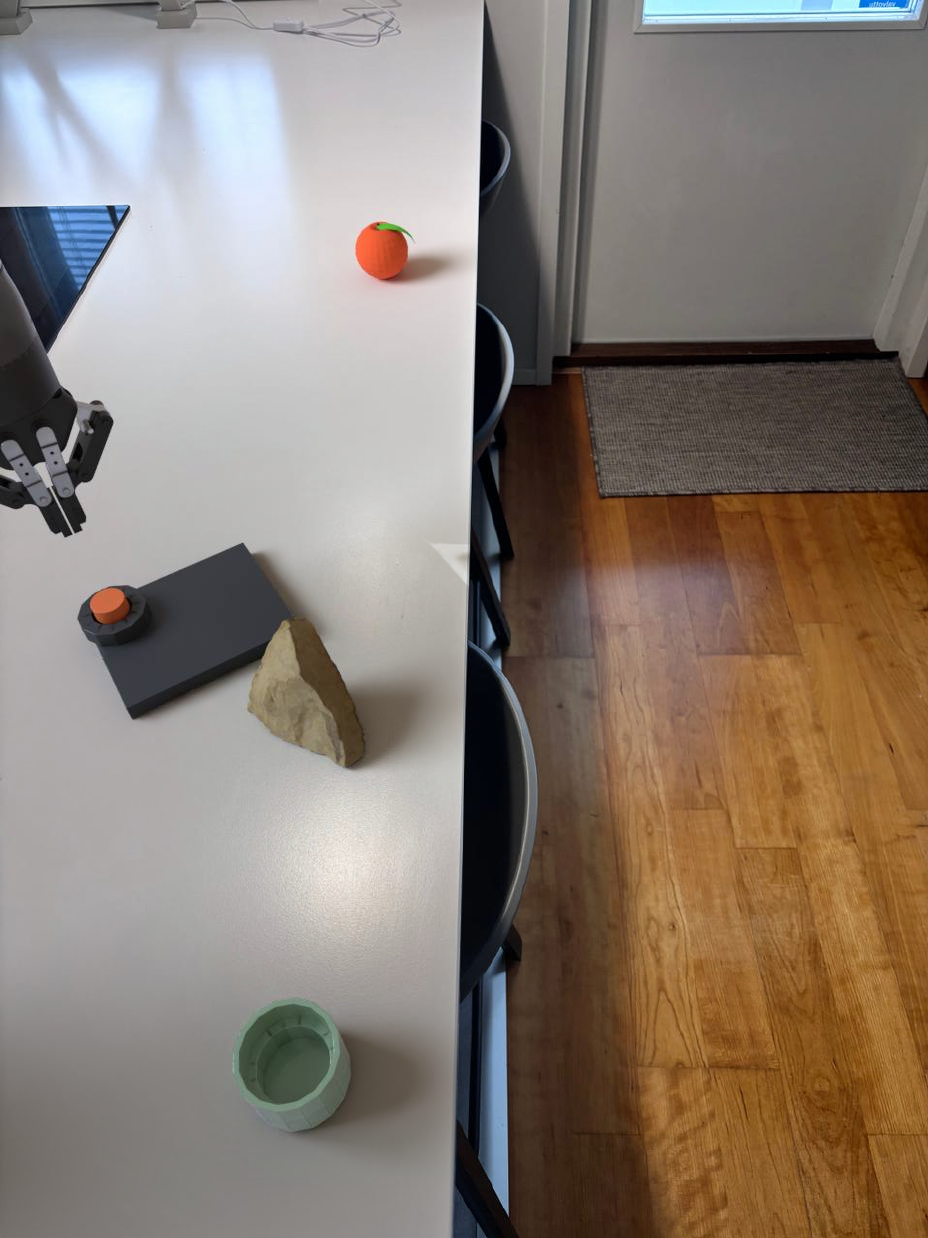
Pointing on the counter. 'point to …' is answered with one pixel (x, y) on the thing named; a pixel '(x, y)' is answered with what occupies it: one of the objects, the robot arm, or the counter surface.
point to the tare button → (110, 606)
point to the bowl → (292, 1064)
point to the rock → (306, 695)
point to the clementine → (382, 249)
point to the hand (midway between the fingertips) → (71, 528)
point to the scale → (187, 628)
